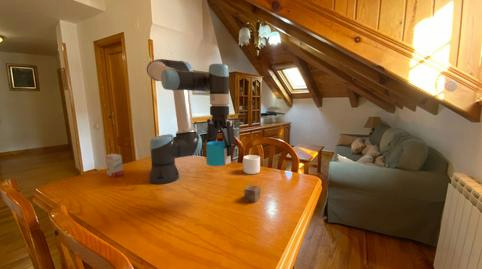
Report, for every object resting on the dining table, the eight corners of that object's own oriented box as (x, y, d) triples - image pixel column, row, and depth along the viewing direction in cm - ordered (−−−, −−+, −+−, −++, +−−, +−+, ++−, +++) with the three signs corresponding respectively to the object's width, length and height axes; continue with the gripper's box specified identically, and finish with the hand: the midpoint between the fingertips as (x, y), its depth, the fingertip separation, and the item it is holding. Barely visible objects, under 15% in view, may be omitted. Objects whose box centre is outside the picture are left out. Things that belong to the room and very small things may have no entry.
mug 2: (250, 167, 130) (250, 153, 129) (264, 170, 124) (265, 155, 123) (239, 172, 120) (239, 157, 119) (254, 176, 114) (254, 160, 113)
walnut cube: (244, 200, 86) (244, 188, 86) (249, 195, 91) (249, 184, 90) (255, 203, 84) (255, 191, 83) (260, 198, 88) (260, 186, 87)
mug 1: (217, 167, 78) (217, 146, 77) (202, 163, 83) (201, 143, 81) (236, 160, 88) (236, 141, 86) (222, 157, 92) (221, 139, 91)
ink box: (123, 175, 118) (121, 154, 116) (114, 177, 114) (112, 156, 112) (116, 172, 123) (114, 153, 121) (107, 174, 119) (104, 154, 117)
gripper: (196, 105, 86) (198, 158, 90) (230, 105, 71) (230, 169, 75) (211, 104, 91) (212, 155, 95) (245, 105, 77) (245, 164, 80)
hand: (220, 161), depth 85 cm, fingers closed on mug 1, 8 cm apart
